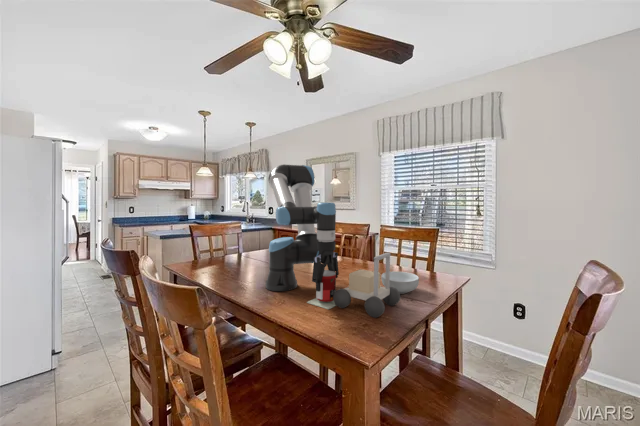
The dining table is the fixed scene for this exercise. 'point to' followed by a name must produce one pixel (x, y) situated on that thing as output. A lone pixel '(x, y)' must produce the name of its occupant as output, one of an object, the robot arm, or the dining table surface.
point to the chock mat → (322, 303)
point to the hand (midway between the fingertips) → (325, 295)
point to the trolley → (369, 289)
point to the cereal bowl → (402, 281)
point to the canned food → (328, 285)
